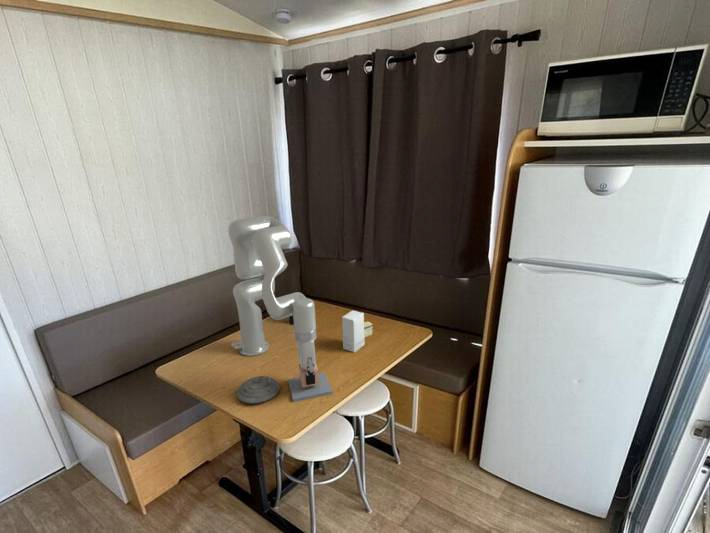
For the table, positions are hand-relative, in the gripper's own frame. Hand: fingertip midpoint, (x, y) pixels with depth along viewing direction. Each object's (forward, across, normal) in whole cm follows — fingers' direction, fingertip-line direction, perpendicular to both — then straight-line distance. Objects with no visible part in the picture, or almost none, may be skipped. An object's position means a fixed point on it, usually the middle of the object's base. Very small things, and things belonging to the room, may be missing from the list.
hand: (309, 378), depth 135 cm
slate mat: (+4, 0, 0) cm, 4 cm away
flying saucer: (+4, -3, -18) cm, 19 cm away
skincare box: (+4, -23, +24) cm, 33 cm away
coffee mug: (+4, -60, +5) cm, 60 cm away
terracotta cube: (+1, 0, 0) cm, 1 cm away
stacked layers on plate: (+4, -33, +32) cm, 46 cm away
